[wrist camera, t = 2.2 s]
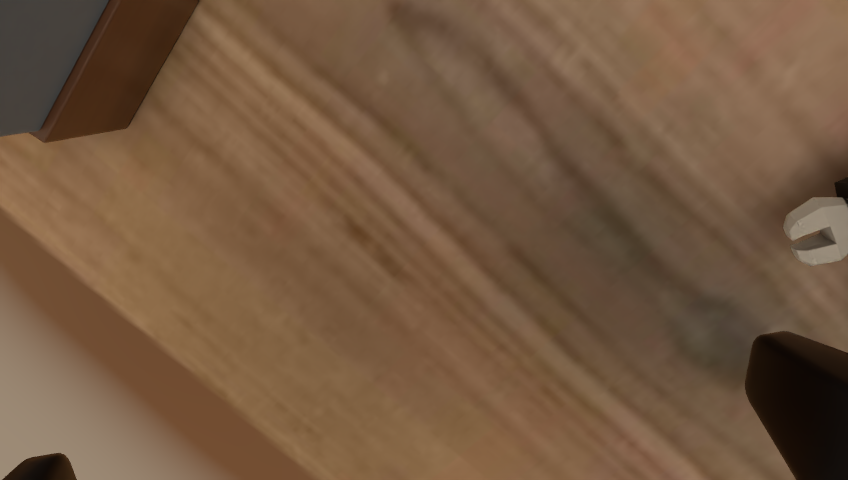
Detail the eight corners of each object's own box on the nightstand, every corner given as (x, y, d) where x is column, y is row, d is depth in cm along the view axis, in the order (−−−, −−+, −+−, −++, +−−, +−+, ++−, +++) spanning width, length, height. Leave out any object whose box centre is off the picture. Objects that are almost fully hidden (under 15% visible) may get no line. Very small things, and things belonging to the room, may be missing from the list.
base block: (201, -1, 19) (131, -19, 15) (126, 129, 20) (44, 144, 16) (64, -99, 19) (-43, -142, 15) (-5, 39, 20) (-121, 33, 16)
